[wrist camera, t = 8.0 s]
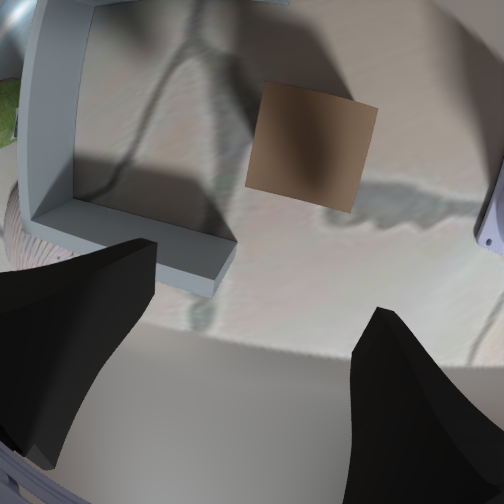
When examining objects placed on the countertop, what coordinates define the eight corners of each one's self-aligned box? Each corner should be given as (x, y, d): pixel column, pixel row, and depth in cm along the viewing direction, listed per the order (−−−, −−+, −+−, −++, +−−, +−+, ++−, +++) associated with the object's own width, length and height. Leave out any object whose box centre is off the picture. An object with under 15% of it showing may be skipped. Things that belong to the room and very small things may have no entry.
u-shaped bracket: (291, -11, 13) (282, -47, 9) (234, 257, 21) (211, 298, 17) (87, -5, 14) (42, -17, 10) (63, 209, 23) (22, 231, 18)
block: (358, 109, 16) (378, 108, 10) (340, 182, 18) (350, 213, 12) (281, 91, 16) (264, 80, 11) (266, 163, 18) (244, 186, 13)
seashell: (0, 277, 25) (-31, 199, 19) (29, 247, 29) (8, 171, 23) (61, 315, 24) (28, 227, 18) (92, 277, 28) (74, 190, 22)
